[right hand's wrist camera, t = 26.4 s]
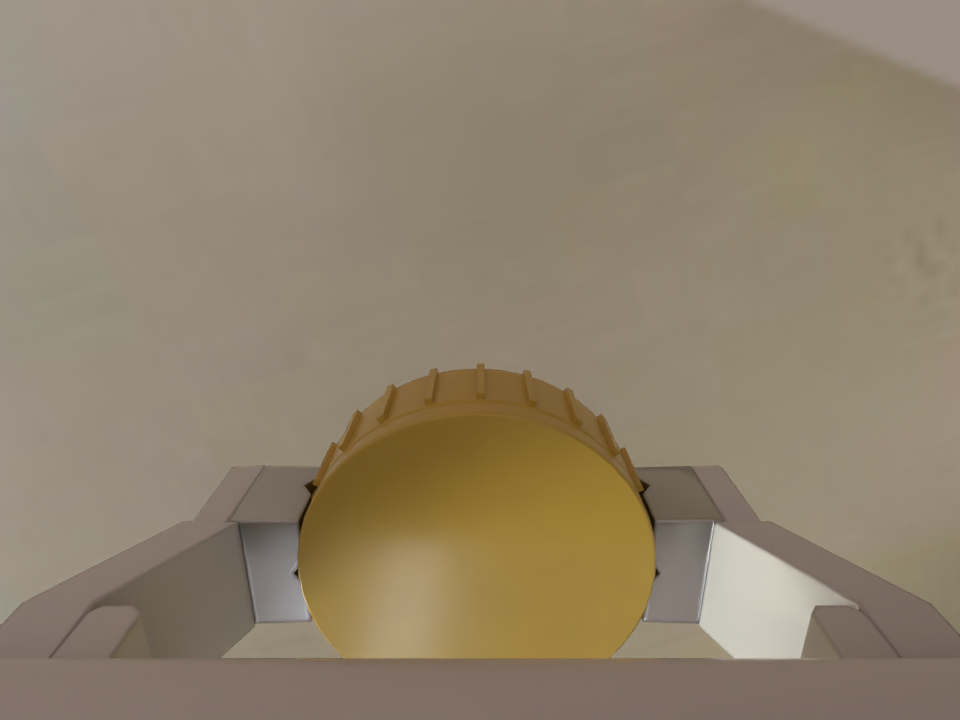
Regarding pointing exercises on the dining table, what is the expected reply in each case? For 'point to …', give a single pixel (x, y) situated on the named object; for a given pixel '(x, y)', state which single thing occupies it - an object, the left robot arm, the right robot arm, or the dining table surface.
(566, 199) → the dining table surface
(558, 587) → the lid
